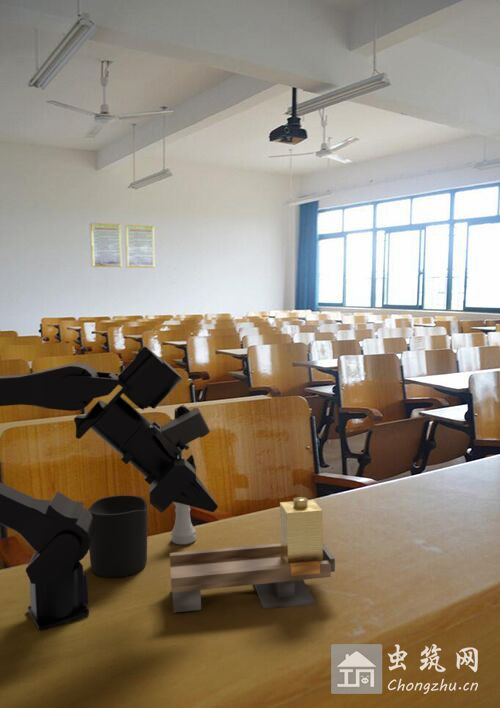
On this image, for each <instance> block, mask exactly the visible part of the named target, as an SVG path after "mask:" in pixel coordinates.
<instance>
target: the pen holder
mask: <svg viewBox="0 0 500 708" xmlns="http://www.w3.org/2000/svg"><path fill="white" fill-rule="evenodd" d="M87 510H88V511H89V512H90V513H91V514H92V517H93V520H94V523H95V530H94V534H93V537H92V540H91V544H90V547H89V550H88V553H89V564H90V569H91V571H92V572H93V573H94V574H95V575H96V576H99V577H102V578H108V579H110V578H111V579H115V578H123V577H128V576H132V575H134V574H137V573H139V572H140V571H142V570H143V569H144V567H145V566H146V564H147V563H148V561H147V560H148V503H147V500H146V499H145V498H143V497H141V496H138V495H130V494H129V495H128V494H123V495H122V494H121V495H110V496H105V497H101V498H99V499H97V500H96V501H95V502H92V504H91V506H90V507H89V508H88V509H87Z"/></svg>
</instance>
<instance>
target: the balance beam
mask: <svg viewBox="0 0 500 708" xmlns="http://www.w3.org/2000/svg"><path fill="white" fill-rule="evenodd" d="M169 565H170V586H171V594H172V603H173V604H172V605H173V613H182V612H191V611H193V612H194V611H200V610H202V601H201V600H202V595H201V594H202V593H201V592H202V591H205V590H212V589H213V590H214V589H222V588H233V587H242V586H254V587H255V590H256V592H257V596H258V599H259V602H260V603H261V607H262V609H263V610H269V609H278V608H279V609H280V608H286V607H297V606H306V605H314V604H315V599H314V596H313V595H312V593H311V591H310V590H309V587H308V586H307V585H306V582H305V581H304V580H313V579H323V578H331V577H332V575H331V574H332V572H333V573H334V572H335V571H336V559H335V557H334V556H333V554H332V552H331V551H330V550H329V549H328V547H327V546H326V544H325V543H324V542H323V561H311V562H301V563H290V564H285V563H284V561H283V559H282V557H281V542H279V543H268V544H257V545H255V544H254V545H247V546H246V545H245V546H235V547H234V546H233V547H224V548H213V549H212V548H211V549H200V550H199V549H198V550H189V551H187V550H186V551H178V552H176V551H175V552H170V553H169Z"/></svg>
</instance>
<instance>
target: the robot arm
mask: <svg viewBox="0 0 500 708" xmlns="http://www.w3.org/2000/svg"><path fill="white" fill-rule="evenodd" d="M183 380H184V378H183V377H182V375H181V374H180V373H179V372H177V370H175V369H174V367H173V366H171V364H169V363H168V362H167V361H166V360H165V359H162V358H160V357H159V356H158V355H157V354H156V353H155V352H154V351H152V350H151V349H150V348H149V347H148V346H146V345H145V346H143V347H141V349H140V350H139V351H138V352H137V354H136V355H135V357H134V358H133V360H131V362H130V363H128V365H127V366H126V367H124V369H123V370H122V371H121V372H120V373H117V372H116V373H115V372H113V371H111V372H105V371H104V372H103V371H97V370H96V369H94V368H93V367H92V365H90V364H88V363H85V362H73V363H69V364H64V365H59V366H55V367H52V368H47V369H43V370H40V371H39V370H38V371H36V372H31V373H27V374H25V373H24V374H10V375H0V407H4V406H5V407H6V406H8V407H9V406H19V405H23V406H33V407H38V408H43V409H48V410H56V411H57V410H58V411H69V412H70V411H71V412H76V411H80V410H82V409H85V408H86V407H88V406H89V405H90V404H91V403H92V401H93V400H94V399H97V398H101V397H106V396H109V395H110V394H111V393H112V392H113V391H114V390H115V389H116V388H117V387H118V386H120V387H121V388H120V389H119V390H118V391H117V392H116V393H115V395H113V397H112V398H111V399H110V400H108V402H105V401H103V400H101V399H99V400H98V401H97V402H96V403H95V404H94V405H93V406H92V407H91V408H90V410H88V411H87V412H86V413H85V414H78V415H76V416H75V417H74V418H73V421H74V424H75V438H76V439H78V440H79V439H81V438H83V437H84V435H86V433H87V432H88V431H90V430H91V431H93V432H94V433H95V434H97V436H99V437H100V439H102V440H103V441H104V442H106V444H108V445H109V446H110V447H111V448H112V449H114V451H116V452H117V453H118V454H119V455H121V458H120V460H121V461H122V462H123V463H124V464H125V465H128V464H129V463H130V464H131V465H132V466H133V467H134V468H136V469H137V471H139V472H140V473H141V474H143V476H144V478H143V479H144V481H145V482H146V483H147V484H148V485H149V503H150V504H149V505H152V506H153V507H154V508H155V509H156V510H157V511H158V512H159V513H161V514H162V513H164V512H165V511H166V510H167V509H168V508H169V507H170V506H171V505H172V503H173V502H176V503H180V504H185V505H188V506H189V507H192V508H193V507H194V508H196V509H199V510H200V509H201V510H204V511H207V512H211V513H214V512H215V511H216V510H217V509H218V508H219V505H218V503H217V502H216V501H215V499H214V497H213V496H212V495H211V493H210V492H209V490H208V489H207V487H206V486H205V485H204V484H203V482H202V481H201V479H200V478H199V477H198V475H197V465H196V462H195V459H194V454H191V455H189V457H188V458H187V459H185V458H183V457H181V456H180V454H181V453H182V451H183V450H185V451H188V450H189V449H190V443H191V442H193V441H195V440H197V439H198V438H201V439H202V438H203V437H205V436H207V435H208V434H210V432H211V430H210V428H209V426H208V424H207V422H206V420H205V417H204V416H203V414H202V413H201V410H200V408H199V407H194V408H193V407H192V409H190V408H189V407H187V406H186V405H185V404H182V405H180V406H178V407H176V408H174V417H173V418H174V419H170V420H169V421H168V422H167V423H165V424H163V425H161V424H159V422H157V421H156V420H154V421H153V420H151V421H150V420H149V419H147V418H146V417H145V416H144V415H143V414H141V413H140V412H139V411H138V410H137V408H135V407H134V406H133V405H132V404H131V403H129V402H128V401H127V400H126V399H125V398H124V397H122V395H124V396H126V398H127V399H129V400H130V401H131V402H132V403H133V404H134V405H135V406H136V407H138V408H139V409H140V410H142V411H144V410H145V409H146V410H147V408H149V407H150V408H151V409H153V410H155V409H157V407H158V406H159V405H160V404H161V403H162V402H163V401H164V400H165V399H166V398H167V397H168V395H170V393H171V392H172V391H173V390H174V389H175V388H176V387H177V386H178V385H179V384H180V383H181V382H182V381H183ZM84 505H85V502H82V501H80V502H79V501H75V500H73V499H71V498H69V497H67V496H66V495H65V494H63V493H61V492H58V491H57V492H55V493H54V496H53V497H52V499H51V500H48V499H37V498H35V497H32V496H30V495H28V494H26V493H24V492H22V491H19V490H17V489H15V488H13V487H12V486H8V485H7V484H4V483H3V482H0V525H2V526H3V527H5V528H8V529H10V530H12V531H14V532H16V533H18V534H19V535H20V536H21V537H22V539H24V541H25V542H26V544H28V545H29V547H31V549H32V550H34V553H33V555H32V557H31V558H30V560H29V562H28V564H27V566H26V568H25V572H26V574H27V577H28V579H29V590H30V591H29V592H30V605H29V606H28V607H27V612H28V613H29V615H30V617H31V619H32V620H33V622H34V623H35V625H36V627H37V629H38V630H40V631H42V630H47V629H50V628H52V627H56V626H60V625H62V624H65V623H69V622H71V621H74V620H77V619H81V618H83V617H87V616H89V615H90V610H89V608H88V607H87V605H88V604H89V603H90V601H89V583H88V582H89V581H88V575H87V574H86V572H85V571H84V565H83V564H82V563H81V562H80V561H82V560H83V559H84V558H85V556H86V555H87V554H88V553H89V547H90V544H91V540H92V537H93V534H94V530H95V523H94V520H93V517H92V514H91V513H90V512H89V511H88V509H86V508H84Z"/></svg>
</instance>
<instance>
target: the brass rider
mask: <svg viewBox="0 0 500 708" xmlns="http://www.w3.org/2000/svg"><path fill="white" fill-rule="evenodd" d="M279 519H280V520H279V521H280V522H279V523H280V524H279V525H280V529H279V530H280V531H279V532H280V543H281V557H282V559H283V561H284V563H285V564H290V563H301V562H311V561H323V543H324V541H323V540H324V538H323V537H324V536H323V535H324V532H323V531H324V527H323V523H324V522H323V510H322V508H321V507H320V506H319V504H318V503H317V502H316V501H315V500H314V499H308V498H307V497H304V496H303V497H302V496H297V497H294V498H293V501H283V502H281V501H280V502H279Z"/></svg>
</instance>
